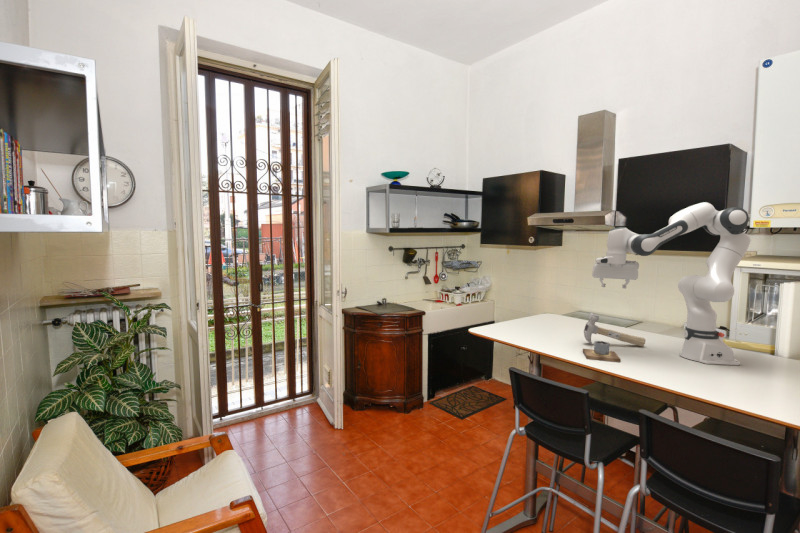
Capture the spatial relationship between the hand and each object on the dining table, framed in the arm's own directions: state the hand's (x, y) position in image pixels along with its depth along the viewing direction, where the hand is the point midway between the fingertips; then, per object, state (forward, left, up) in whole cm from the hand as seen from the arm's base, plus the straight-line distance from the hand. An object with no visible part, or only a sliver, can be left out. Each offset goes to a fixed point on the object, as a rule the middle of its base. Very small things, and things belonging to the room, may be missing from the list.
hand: (613, 287), depth 202 cm
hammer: (-4, -8, -32) cm, 33 cm away
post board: (+7, +16, -31) cm, 36 cm away
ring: (+7, +16, -29) cm, 34 cm away
